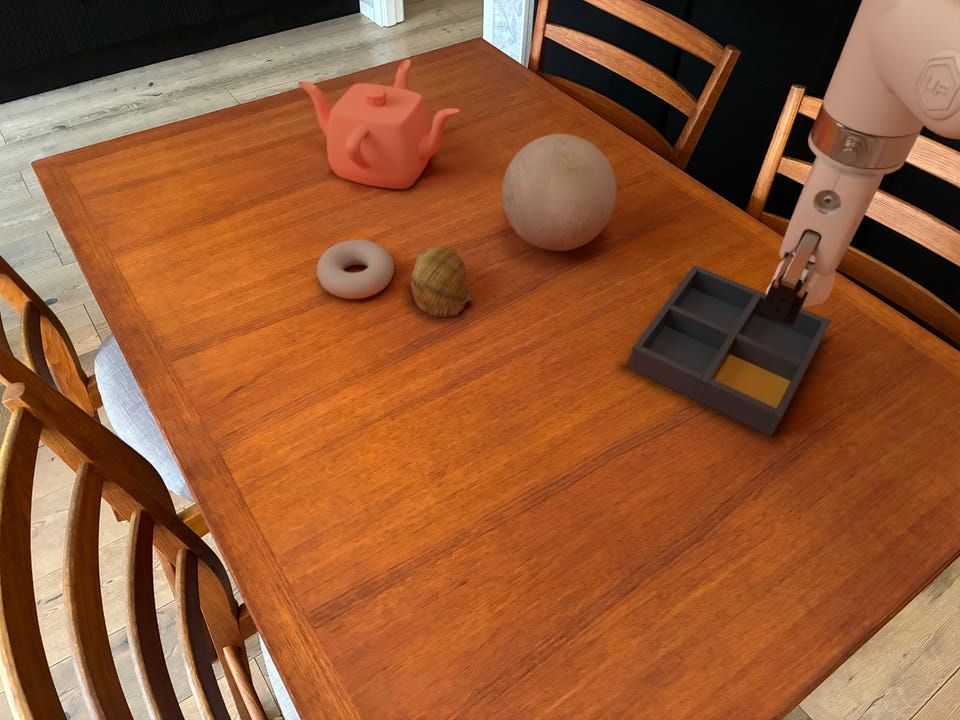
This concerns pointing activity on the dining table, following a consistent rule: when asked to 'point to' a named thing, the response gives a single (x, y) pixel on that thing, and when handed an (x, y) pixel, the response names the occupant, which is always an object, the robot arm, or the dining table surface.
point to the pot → (379, 132)
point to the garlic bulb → (813, 285)
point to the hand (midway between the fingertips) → (789, 294)
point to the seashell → (439, 282)
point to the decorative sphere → (559, 192)
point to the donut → (356, 282)
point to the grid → (728, 349)
